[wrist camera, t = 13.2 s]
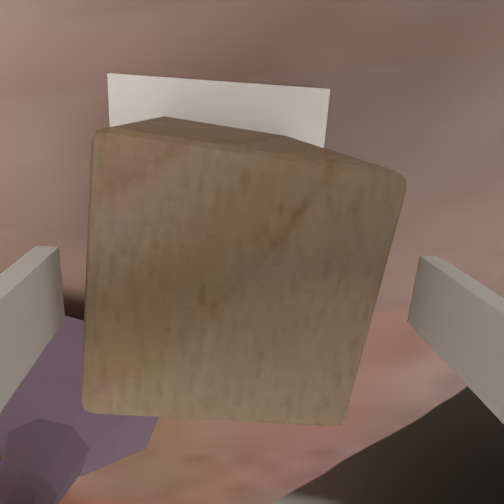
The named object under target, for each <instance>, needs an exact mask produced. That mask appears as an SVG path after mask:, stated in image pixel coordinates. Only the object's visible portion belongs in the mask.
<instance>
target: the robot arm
mask: <svg viewBox="0 0 504 504" xmlns="http://www.w3.org/2000/svg"><path fill="white" fill-rule="evenodd" d="M64 319H65V312H64V300H63V289H62V277H61V266H60V255H59V247H56V246H35V247H34V248H32V249H31V250H30V251H29V252H27V253H26V254H25V255H23V256H22V257H21V258H20V259H18V260H17V261H16V262H15V263H13V264H12V265H11V266H10V267H8V268H7V269H6V270H4V271H3V272H2V273H1V274H0V412H1V411H2V410H3V408H4V407H5V405H6V404H7V402H8V401H9V399H10V398H11V396H12V395H13V393H14V392H15V391H16V389H17V388H18V386H19V385H20V383H21V382H22V380H23V379H24V377H25V376H26V375H27V373H28V372H29V370H30V369H31V367H32V366H33V364H34V363H35V361H36V360H37V359H38V357H39V356H40V354H41V353H42V351H43V350H44V348H45V347H46V345H47V344H48V342H49V341H50V340H51V338H52V337H53V335H54V334H55V332H56V331H57V329H58V328H59V326H60V325H61V324H62V322H63V321H64ZM407 321H408V323H409V324H410V325H411V326H412V327H413V328H414V329H415V330H416V331H417V332H418V333H419V334H420V335H421V336H422V337H423V339H424V340H425V341H426V342H427V343H428V344H429V345H430V346H431V347H432V348H433V349H434V350H435V351H436V352H437V353H438V355H439V356H440V357H441V358H442V359H443V360H444V361H445V362H446V363H447V364H448V365H449V366H450V367H451V368H452V370H453V371H454V372H455V373H456V374H457V375H458V376H459V377H460V378H461V379H462V380H463V381H464V382H465V383H466V384H467V386H468V387H469V388H470V389H471V390H472V391H473V392H474V393H475V394H476V395H477V396H478V397H479V398H480V399H481V400H482V402H484V404H485V405H486V406H487V407H488V408H489V409H490V410H491V411H492V412H493V413H494V414H495V415H496V416H497V418H498V419H499V420H500V421H501V422H502V423H503V424H504V298H503V297H501V296H500V295H498V294H497V293H495V292H494V291H492V290H491V289H489V288H487V287H486V286H484V285H483V284H481V283H480V282H478V281H476V280H475V279H473V278H472V277H470V276H469V275H467V274H466V273H464V272H462V271H461V270H459V269H458V268H456V267H455V266H453V265H451V264H450V263H448V262H447V261H445V260H444V259H442V258H441V257H439V256H420V258H419V263H418V268H417V273H416V279H415V284H414V289H413V294H412V299H411V304H410V310H409V315H408V320H407Z"/></svg>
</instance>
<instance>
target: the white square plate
mask: <svg viewBox="0 0 504 504" xmlns="http://www.w3.org/2000/svg"><path fill="white" fill-rule="evenodd" d="M107 79H108V102H109V125H110V127H114V126H119V125H124V124H129V123H134V122H139V121H144V120H148V119H153V118H158V117H163V116H166V117H172V118H178V119H184V120H190V121H197V122H203V123H209V124H215V125H221V126H228V127H234V128H240V129H246V130H252V131H259V132H265V133H271V134H277V135H284V136H288V137H291V138H294V139H297V140H300V141H303V142H307V143H310V144H313V145H316V146H319V147H322V148H324V143H325V133H326V124H327V115H328V106H329V97H330V89H324V88H309V87H295V86H281V85H267V84H253V83H239V82H225V81H211V80H197V79H182V78H168V77H154V76H140V75H126V74H112V73H107Z"/></svg>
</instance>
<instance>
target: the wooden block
mask: <svg viewBox="0 0 504 504" xmlns="http://www.w3.org/2000/svg"><path fill="white" fill-rule="evenodd" d="M405 192H406V180H405V178H404V177H403V176H401V175H400V174H398V173H397V172H396V171H393V170H390V169H387V168H384V167H381V166H377V165H374V164H371V163H368V162H365V161H362V160H359V159H356V158H353V157H350V156H347V155H344V154H340V153H337V152H334V151H331V150H328V149H325V148H322V147H319V146H316V145H313V144H310V143H307V142H303V141H300V140H297V139H294V138H291V137H288V136H284V135H277V134H271V133H265V132H259V131H252V130H246V129H240V128H234V127H228V126H221V125H215V124H209V123H203V122H197V121H190V120H184V119H178V118H172V117H166V116H163V117H158V118H153V119H148V120H144V121H139V122H134V123H129V124H124V125H119V126H114V127H109V128H105V129H101V130H97V132H96V134H95V136H94V138H93V140H92V143H91V167H90V190H89V214H88V237H87V261H86V285H85V308H84V332H83V355H82V379H81V401H82V405H83V408H84V410H85V411H88V412H90V413H96V414H115V415H133V416H152V417H170V418H189V419H207V420H226V421H245V422H263V423H282V424H300V425H319V426H336V425H339V424H341V423H342V422H343V420H344V419H345V415H346V411H347V408H348V404H349V400H350V396H351V393H352V389H353V385H354V381H355V378H356V374H357V370H358V367H359V363H360V359H361V355H362V352H363V348H364V344H365V341H366V337H367V333H368V329H369V326H370V322H371V318H372V315H373V311H374V307H375V303H376V300H377V296H378V292H379V289H380V285H381V281H382V277H383V274H384V270H385V266H386V263H387V259H388V255H389V251H390V248H391V244H392V240H393V237H394V233H395V229H396V225H397V222H398V218H399V214H400V211H401V207H402V203H403V199H404V196H405Z"/></svg>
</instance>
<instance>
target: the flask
mask: <svg viewBox="0 0 504 504" xmlns="http://www.w3.org/2000/svg"><path fill="white" fill-rule="evenodd" d="M83 332H84V321H83V320H79V319H76V318H72V317H69V316H65V319H64V321H63V322H62V324H61V325H60V326H59V328H58V329H57V331H56V332H55V334H54V335H53V337H52V338H51V340H50V341H49V342H48V344H47V345H46V347H45V348H44V350H43V351H42V353H41V354H40V356H39V357H38V359H37V360H36V361H35V363H34V364H33V366H32V367H31V369H30V370H29V372H28V373H27V375H26V376H25V377H24V379H23V380H22V382H21V383H20V385H19V386H18V388H17V389H16V391H15V392H14V393H13V395H12V396H11V398H10V399H9V401H8V402H7V404H6V405H5V407H4V408H3V410H2V411H1V412H0V455H1V456H2V458H1V463H0V504H58V503H59V502H60V501H61V499H62V498H63V497H64V495H65V494H66V492H67V491H68V490H69V488H70V487H71V486H72V484H73V483H74V482H75V480H76V479H77V477H78V476H83V475H85V474H88V473H90V472H92V471H95V470H97V469H99V468H102V467H104V466H106V465H108V464H111V463H113V462H115V461H118V460H120V459H122V458H125V457H127V456H129V455H131V454H134V453H136V452H138V451H141V450H143V449H145V448H146V447H147V445H148V442H149V440H150V437H151V435H152V432H153V429H154V427H155V424H156V422H157V419H158V417H152V416H133V415H115V414H96V413H90V412H88V411H85V410H84V408H83V405H82V401H81V379H82V355H83Z"/></svg>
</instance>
